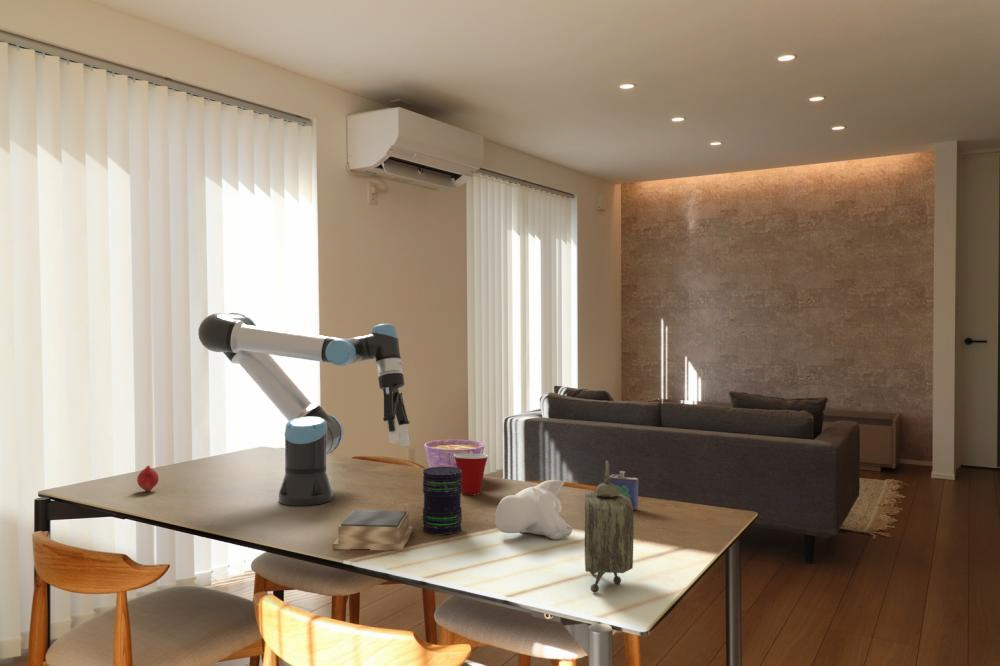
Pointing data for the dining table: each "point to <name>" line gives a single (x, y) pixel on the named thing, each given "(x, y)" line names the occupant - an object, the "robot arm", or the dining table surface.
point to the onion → (147, 478)
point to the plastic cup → (471, 471)
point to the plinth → (374, 530)
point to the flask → (626, 487)
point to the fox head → (533, 512)
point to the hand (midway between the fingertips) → (400, 444)
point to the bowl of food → (450, 451)
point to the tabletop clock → (608, 531)
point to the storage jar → (442, 500)
